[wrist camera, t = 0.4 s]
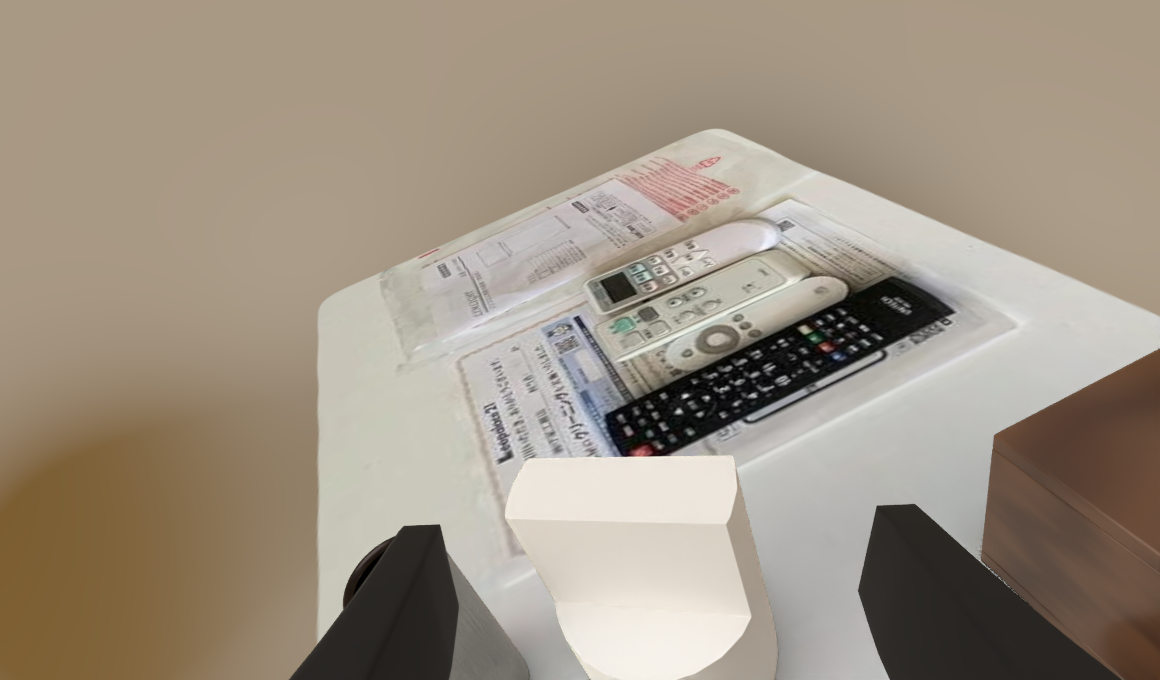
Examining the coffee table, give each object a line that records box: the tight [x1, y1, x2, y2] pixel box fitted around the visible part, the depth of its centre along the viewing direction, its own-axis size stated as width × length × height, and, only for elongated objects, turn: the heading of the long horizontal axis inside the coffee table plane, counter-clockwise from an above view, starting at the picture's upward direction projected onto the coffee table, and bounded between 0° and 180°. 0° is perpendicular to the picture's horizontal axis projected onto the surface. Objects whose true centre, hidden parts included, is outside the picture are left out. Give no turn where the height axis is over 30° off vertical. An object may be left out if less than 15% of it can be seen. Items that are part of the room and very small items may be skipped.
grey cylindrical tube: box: [343, 536, 529, 680], centre depth 29 cm, size 4×4×10 cm
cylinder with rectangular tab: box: [505, 456, 779, 680], centre depth 28 cm, size 9×9×12 cm
